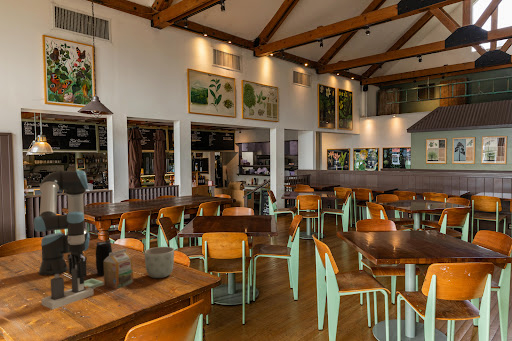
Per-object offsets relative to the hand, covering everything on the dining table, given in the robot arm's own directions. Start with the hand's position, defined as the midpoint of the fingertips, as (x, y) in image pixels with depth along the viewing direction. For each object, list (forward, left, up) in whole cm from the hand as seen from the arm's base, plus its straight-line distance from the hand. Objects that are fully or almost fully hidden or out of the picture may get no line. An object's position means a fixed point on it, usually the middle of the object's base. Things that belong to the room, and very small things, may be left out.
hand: (78, 289), depth 173 cm
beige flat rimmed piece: (0, -5, -4) cm, 6 cm away
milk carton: (+3, +21, -4) cm, 22 cm away
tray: (-9, +11, -4) cm, 15 cm away
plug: (0, 0, -2) cm, 2 cm away
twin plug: (0, -10, -4) cm, 11 cm away
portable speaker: (-21, +28, -4) cm, 35 cm away
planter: (+11, +43, -4) cm, 45 cm away
